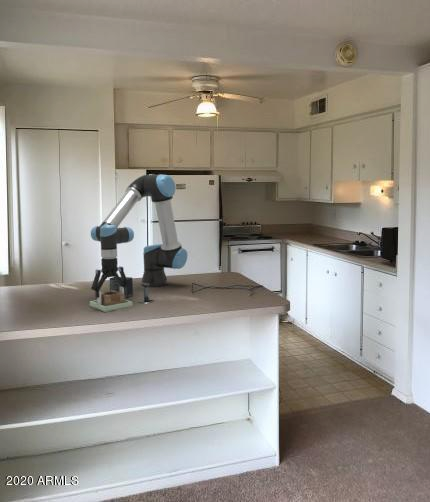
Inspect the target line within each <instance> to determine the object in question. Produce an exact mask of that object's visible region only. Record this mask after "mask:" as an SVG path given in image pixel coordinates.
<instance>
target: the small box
mask: <svg viewBox="0 0 430 502" xmlns="http://www.w3.org/2000/svg"><path fill="white" fill-rule="evenodd" d="M119 277H120V279H121V280H122V277H121V276H119ZM108 278H109V291H118V292H120V287H121V285H120V284H119V282H118V281H117V280H116V278H115V277H108ZM126 278H127V281H128V283H129V285H127V286H126V287H125V293H124V299H129V298H131V297H133V296H134V289H133V277H131V276H130V277H129V276H126ZM122 281H123V280H122ZM123 283H124V282H123Z"/></svg>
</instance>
